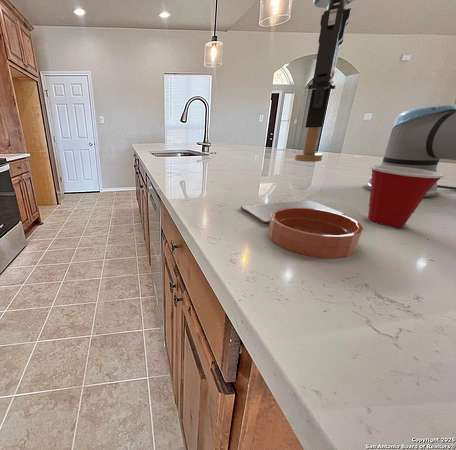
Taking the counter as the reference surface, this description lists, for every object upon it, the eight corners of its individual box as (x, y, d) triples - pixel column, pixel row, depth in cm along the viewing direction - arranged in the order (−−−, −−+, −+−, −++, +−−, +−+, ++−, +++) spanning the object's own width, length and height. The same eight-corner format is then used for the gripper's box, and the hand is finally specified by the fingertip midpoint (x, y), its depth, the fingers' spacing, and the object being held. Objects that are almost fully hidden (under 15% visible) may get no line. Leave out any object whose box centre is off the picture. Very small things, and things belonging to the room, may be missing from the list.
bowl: (313, 224, 54) (318, 205, 52) (377, 256, 41) (385, 231, 39) (254, 230, 52) (256, 210, 50) (300, 265, 39) (306, 240, 37)
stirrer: (309, 157, 53) (327, 67, 46) (327, 160, 48) (349, 61, 42) (289, 159, 52) (304, 67, 46) (305, 162, 48) (325, 61, 41)
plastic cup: (437, 235, 47) (465, 173, 42) (372, 232, 49) (392, 172, 44) (397, 215, 57) (417, 163, 52) (345, 213, 59) (360, 163, 54)
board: (309, 204, 66) (310, 200, 66) (344, 218, 56) (345, 213, 56) (240, 210, 64) (240, 206, 63) (263, 226, 54) (264, 221, 53)
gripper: (321, -7, 46) (298, 126, 56) (313, -46, 35) (286, 129, 44) (372, -21, 42) (338, 125, 51) (382, -70, 31) (336, 128, 40)
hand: (314, 126), depth 48 cm, fingers closed on stirrer, 2 cm apart
